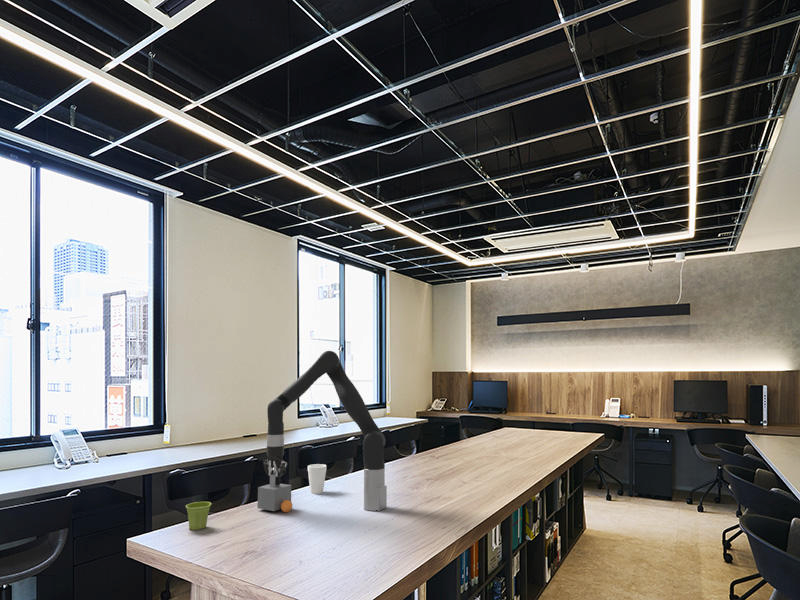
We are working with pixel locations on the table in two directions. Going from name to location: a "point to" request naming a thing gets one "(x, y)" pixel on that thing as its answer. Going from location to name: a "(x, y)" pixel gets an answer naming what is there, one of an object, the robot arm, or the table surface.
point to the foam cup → (316, 478)
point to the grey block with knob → (273, 495)
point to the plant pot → (198, 514)
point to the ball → (286, 506)
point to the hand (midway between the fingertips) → (274, 484)
